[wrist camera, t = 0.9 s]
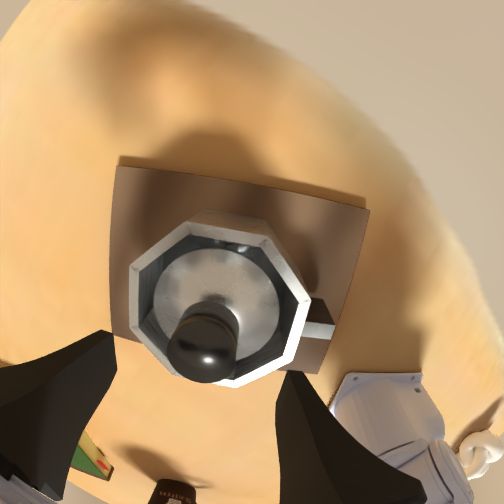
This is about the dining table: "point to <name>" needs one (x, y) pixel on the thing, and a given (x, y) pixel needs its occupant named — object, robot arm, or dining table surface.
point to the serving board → (242, 203)
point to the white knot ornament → (479, 453)
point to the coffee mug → (173, 493)
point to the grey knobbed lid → (214, 311)
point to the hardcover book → (91, 459)
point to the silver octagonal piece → (260, 250)
